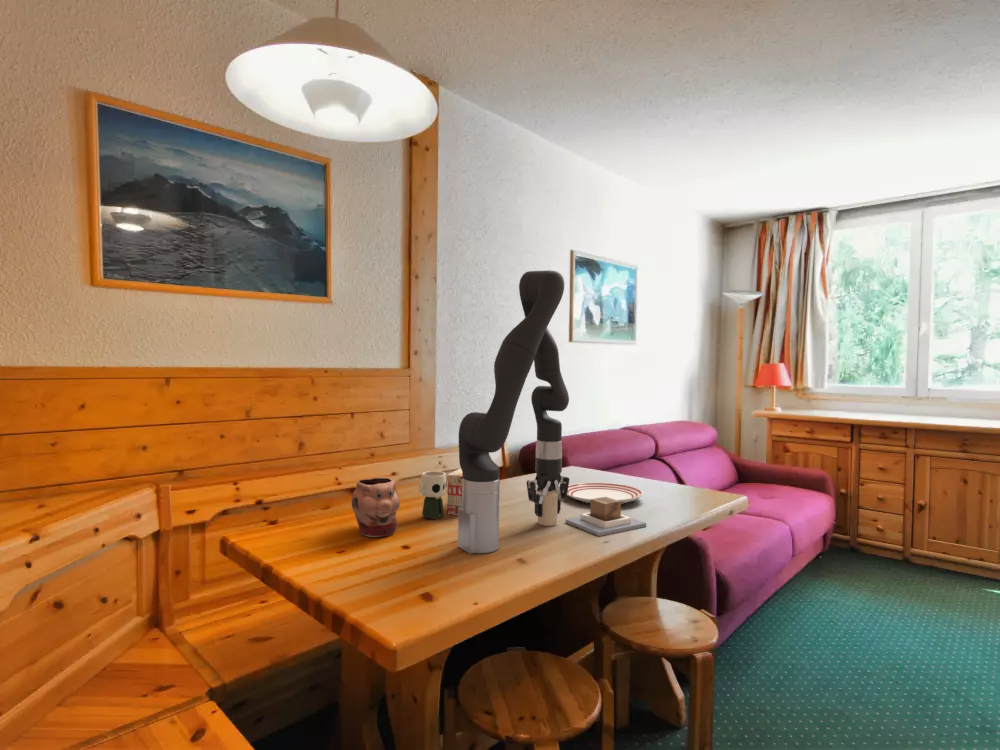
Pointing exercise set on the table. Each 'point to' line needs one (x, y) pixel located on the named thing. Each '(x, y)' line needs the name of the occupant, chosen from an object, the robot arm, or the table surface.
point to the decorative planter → (376, 506)
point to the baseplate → (604, 524)
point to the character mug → (433, 493)
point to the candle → (549, 509)
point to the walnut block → (605, 509)
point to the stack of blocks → (454, 492)
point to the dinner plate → (603, 492)
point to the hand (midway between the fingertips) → (547, 514)
